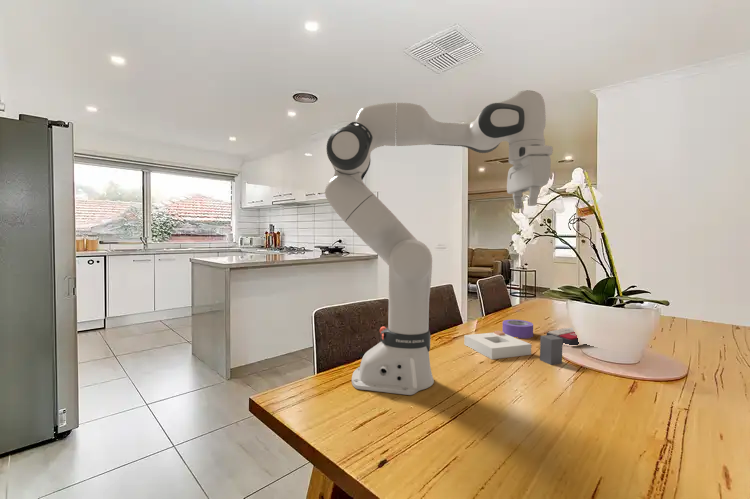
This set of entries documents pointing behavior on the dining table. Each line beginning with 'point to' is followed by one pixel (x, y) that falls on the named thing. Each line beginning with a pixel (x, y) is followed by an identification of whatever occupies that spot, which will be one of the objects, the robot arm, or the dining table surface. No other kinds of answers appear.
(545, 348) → the plug
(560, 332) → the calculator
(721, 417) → the dining table surface
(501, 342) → the socket
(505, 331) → the tape roll
